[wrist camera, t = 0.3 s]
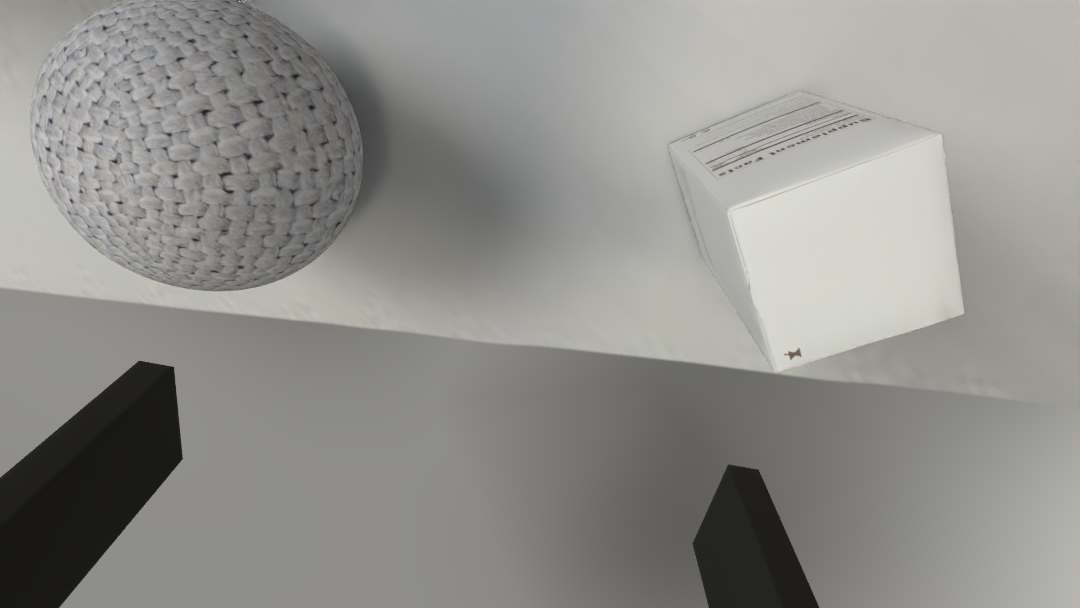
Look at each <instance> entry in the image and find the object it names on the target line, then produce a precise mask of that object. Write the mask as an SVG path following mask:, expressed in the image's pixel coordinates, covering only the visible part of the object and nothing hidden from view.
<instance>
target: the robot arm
mask: <svg viewBox="0 0 1080 608" xmlns="http://www.w3.org/2000/svg"><path fill="white" fill-rule="evenodd" d="M182 459H183V458H182V448H181V438H180V427H179V417H178V406H177V396H176V385H175V374H174V367H171V366H166V365H160V364H154V363H149V362H143V361H138V362H137V363H136V364H135V365H134V366H132V367H131V368H130V369H129V370H128V371H127V372H125V373H124V374H123V375H122V376H121V377H119V378H118V379H117V380H116V381H115V382H113V383H112V384H111V385H110V386H109V387H108V388H106V389H105V390H104V391H103V392H102V393H101V394H99V395H98V396H97V397H96V398H94V399H93V400H92V401H91V402H90V403H89V404H87V405H86V406H85V407H84V408H83V409H81V410H80V411H79V412H78V413H77V414H76V415H74V416H73V417H72V418H71V419H70V420H68V421H67V422H66V423H65V424H64V425H62V426H61V427H60V428H59V429H58V430H56V431H55V432H54V433H53V434H52V435H51V436H49V437H48V438H47V439H46V440H45V441H43V442H42V443H41V444H40V445H39V446H38V447H36V448H35V449H34V450H33V451H32V452H30V453H29V454H28V455H27V456H26V457H24V459H22V460H21V461H20V462H18V463H17V464H16V465H15V466H14V467H13V468H11V469H10V470H9V471H8V472H7V473H5V474H4V475H3V476H2V477H1V478H0V608H59V607H60V606H61V604H62V603H63V602H64V601H65V600H66V599H67V597H68V596H69V595H70V594H71V593H72V591H73V590H74V589H75V588H76V586H77V585H78V584H79V583H80V582H81V580H82V579H83V578H84V577H85V576H86V575H87V573H88V572H89V571H90V570H91V568H92V567H93V566H94V565H95V564H96V563H97V561H98V560H99V559H100V558H101V557H102V555H103V554H104V553H105V552H106V550H107V549H108V548H109V547H110V546H111V545H112V543H113V542H114V541H115V540H116V538H117V537H118V536H119V535H120V534H121V532H122V531H123V530H124V529H125V528H126V526H127V525H128V524H129V523H130V522H131V520H132V519H133V518H134V517H135V516H136V514H137V513H138V512H139V511H140V510H141V508H142V507H143V506H144V505H145V504H146V502H147V501H148V500H149V499H150V498H151V496H152V495H153V494H154V493H155V492H156V490H157V489H158V488H159V487H160V486H161V484H162V483H163V482H164V481H165V480H166V478H167V477H168V476H169V475H170V473H171V472H172V471H173V470H174V469H175V467H176V466H177V465H178V464H179V463H180V461H181V460H182ZM693 547H694V551H695V555H696V559H697V562H698V566H699V570H700V574H701V578H702V582H703V586H704V589H705V593H706V598H707V601H708V605H709V608H819V606H818V604H817V602H816V599H815V597H814V595H813V592H812V590H811V588H810V586H809V583H808V581H807V579H806V577H805V574H804V572H803V570H802V567H801V565H800V563H799V561H798V558H797V556H796V554H795V552H794V549H793V547H792V545H791V542H790V540H789V538H788V536H787V534H786V531H785V529H784V527H783V524H782V522H781V520H780V517H779V515H778V513H777V511H776V509H775V506H774V504H773V502H772V499H771V497H770V495H769V493H768V490H767V488H766V486H765V483H764V481H763V479H762V477H761V475H760V472H759V470H757V469H750V468H745V467H739V466H734V465H728V466H727V469H726V471H725V473H724V475H723V477H722V480H721V482H720V484H719V486H718V488H717V491H716V493H715V495H714V497H713V500H712V502H711V504H710V506H709V508H708V511H707V513H706V515H705V517H704V520H703V522H702V524H701V526H700V529H699V531H698V533H697V535H696V538H695V539H694V542H693Z"/></svg>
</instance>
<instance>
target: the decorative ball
mask: <svg viewBox="0 0 1080 608" xmlns="http://www.w3.org/2000/svg"><path fill="white" fill-rule="evenodd" d="M30 133H31V142H32V147H33V152H34V157H35V161H36V164H37V167H38V170H39V173H40V175H41V178H42V180H43V183H44V185H45V187H46V188H47V190H48V192H49V194H50V196H51V198H52V200H53V201H54V203H55V204H56V206H57V207H58V209H59V210H60V212H61V213H62V215H63V216H64V217H65V219H66V220H67V221H68V222H69V223H70V225H71V226H72V227H73V228H74V229H75V230H76V231H77V232H78V233H79V234H80V235H81V236H82V237H83V238H84V239H85V240H86V241H87V242H88V243H89V244H90V245H91V246H93V247H94V248H95V249H96V250H98V251H99V252H100V253H102V254H103V255H105V256H106V257H107V258H109V259H111V260H112V261H114V262H116V263H117V264H119V265H121V266H123V267H124V268H127V269H129V270H131V271H133V272H135V273H137V274H139V275H142V276H144V277H147V278H149V279H152V280H155V281H158V282H161V283H164V284H168V285H172V286H177V287H182V288H187V289H194V290H203V291H234V290H243V289H248V288H254V287H259V286H262V285H266V284H269V283H272V282H275V281H277V280H280V279H283V278H285V277H287V276H289V275H291V274H293V273H295V272H297V271H298V270H300V269H302V268H303V267H305V266H306V265H308V264H310V263H311V262H312V261H313V260H315V259H316V258H317V257H319V256H320V255H321V254H322V253H323V252H324V251H325V250H326V249H327V248H328V247H329V246H330V245H331V244H332V243H333V241H334V240H335V239H336V238H337V236H338V235H339V234H340V232H341V231H342V229H343V228H344V226H345V225H346V223H347V221H348V219H349V217H350V215H351V213H352V211H353V209H354V207H355V204H356V201H357V198H358V195H359V191H360V187H361V181H362V173H363V147H362V139H361V134H360V129H359V125H358V122H357V118H356V116H355V113H354V110H353V108H352V105H351V103H350V100H349V98H348V96H347V94H346V92H345V90H344V88H343V87H342V85H341V83H340V81H339V80H338V78H337V77H336V75H335V74H334V72H333V71H332V70H331V68H330V67H329V66H328V64H327V63H326V62H325V60H324V59H323V58H322V57H321V56H320V55H319V54H318V53H317V52H316V51H315V50H314V49H313V48H312V47H311V46H310V45H309V44H308V43H307V42H306V41H304V40H303V39H302V38H301V37H300V36H298V35H297V34H296V33H295V32H293V31H292V30H290V29H289V28H288V27H286V26H285V25H283V24H282V23H280V22H279V21H277V20H275V19H274V18H272V17H270V16H269V15H267V14H265V13H263V12H261V11H259V10H257V9H255V8H253V7H250V6H248V5H245V4H243V3H240V2H237V1H234V0H120V1H117V2H114V3H112V4H109V5H107V6H105V7H103V8H101V9H99V10H97V11H95V12H94V13H92V14H90V15H89V16H87V17H86V18H84V19H83V20H81V21H80V22H79V23H77V24H76V25H75V26H74V27H73V28H71V29H70V30H69V31H68V32H67V33H66V34H65V35H64V36H63V37H62V38H61V39H60V40H59V41H58V42H57V43H56V45H55V46H54V47H53V49H52V50H51V51H50V53H49V55H48V56H47V58H46V59H45V61H44V63H43V65H42V67H41V70H40V72H39V74H38V77H37V80H36V84H35V87H34V91H33V95H32V102H31V109H30Z"/></svg>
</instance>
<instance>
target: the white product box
mask: <svg viewBox="0 0 1080 608" xmlns="http://www.w3.org/2000/svg"><path fill="white" fill-rule="evenodd" d="M668 149H669V153H670V156H671V159H672V162H673V165H674V169H675V172H676V175H677V178H678V181H679V184H680V188H681V191H682V194H683V197H684V200H685V203H686V206H687V210H688V213H689V216H690V219H691V222H692V225H693V228H694V231H695V235H696V238H697V241H698V244H699V247H700V250H701V253H702V256H703V259H704V261H705V263H706V264H707V266H708V267H709V269H710V270H711V272H712V274H713V275H714V277H715V279H716V280H717V282H718V283H719V285H720V287H721V288H722V290H723V291H724V293H725V294H726V296H727V298H728V299H729V301H730V302H731V304H732V306H733V307H734V309H735V310H736V312H737V314H738V315H739V317H740V318H741V320H742V322H743V323H744V325H745V326H746V328H747V330H748V331H749V333H750V334H751V336H752V338H753V339H754V341H755V342H756V344H757V346H758V347H759V349H760V350H761V352H762V353H763V355H764V357H765V358H766V360H767V361H768V363H769V365H770V366H771V368H772V369H773V371H774V372H775V373H779V372H783V371H786V370H789V369H792V368H795V367H798V366H801V365H804V364H807V363H810V362H813V361H816V360H819V359H822V358H825V357H828V356H831V355H834V354H837V353H841V352H844V351H847V350H850V349H853V348H856V347H859V346H863V345H866V344H869V343H872V342H876V341H879V340H882V339H886V338H889V337H892V336H896V335H899V334H903V333H906V332H909V331H913V330H916V329H920V328H923V327H926V326H929V325H932V324H935V323H938V322H941V321H944V320H947V319H950V318H953V317H956V316H959V315H962V314H964V306H963V298H962V290H961V282H960V274H959V265H958V257H957V249H956V241H955V232H954V224H953V216H952V207H951V199H950V191H949V183H948V176H947V169H946V161H945V152H944V143H943V134H942V133H940V132H936V131H933V130H930V129H926V128H923V127H920V126H916V125H913V124H910V123H906V122H903V121H900V120H896V119H893V118H890V117H886V116H883V115H880V114H876V113H873V112H870V111H866V110H863V109H860V108H857V107H853V106H850V105H847V104H843V103H840V102H837V101H833V100H830V99H827V98H823V97H820V96H817V95H813V94H810V93H807V92H803V91H797V92H795V93H792V94H790V95H787V96H785V97H782V98H780V99H778V100H775V101H773V102H770V103H768V104H765V105H763V106H760V107H758V108H755V109H753V110H751V111H748V112H746V113H743V114H741V115H738V116H736V117H734V118H731V119H729V120H726V121H724V122H721V123H719V124H717V125H714V126H712V127H709V128H707V129H704V130H702V131H700V132H697V133H695V134H692V135H690V136H687V137H685V138H682V139H680V140H678V141H675V142H673V143H671V144H669V147H668Z"/></svg>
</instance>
